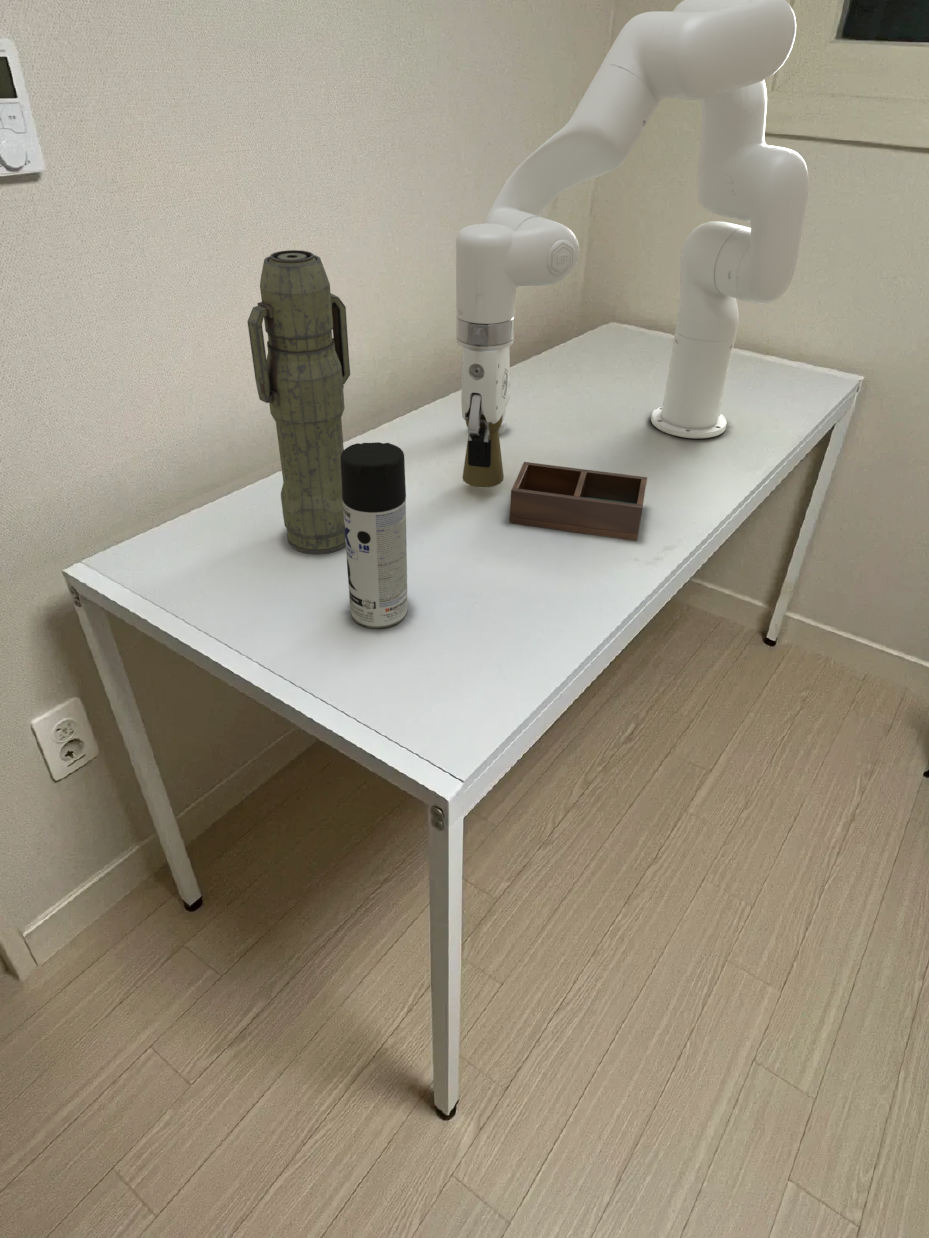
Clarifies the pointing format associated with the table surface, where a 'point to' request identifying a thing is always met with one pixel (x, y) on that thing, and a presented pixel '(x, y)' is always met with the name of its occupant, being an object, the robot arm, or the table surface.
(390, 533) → the spray can
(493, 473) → the cork
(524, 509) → the caddy
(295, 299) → the thermos
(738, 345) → the table surface
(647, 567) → the table surface
